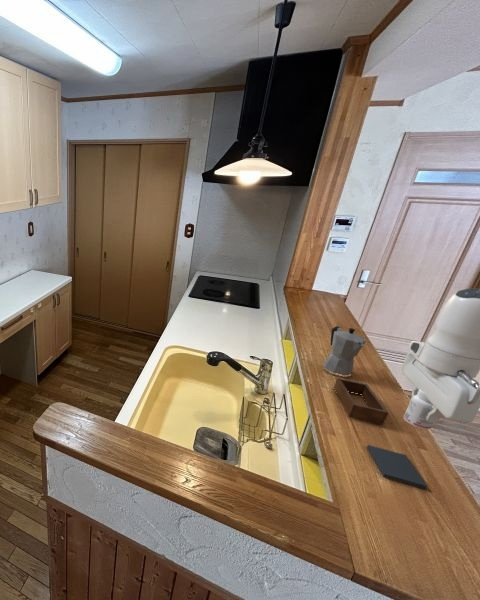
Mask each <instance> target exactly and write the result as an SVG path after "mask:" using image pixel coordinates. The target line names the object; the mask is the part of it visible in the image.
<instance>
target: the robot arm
mask: <svg viewBox="0 0 480 600" xmlns="http://www.w3.org/2000/svg"><path fill="white" fill-rule="evenodd" d="M408 348H409V351H408V352H407V354H406V356H405V357H404V361H403V362H402V366H401V374H402V375H403V376H405V377H406V379H408V381H409V382H410V383H411V384H412V386H411V397H410V401H409V403H410V402H411V400H412V398H413V396H415V395H417V393H418V391H419V389H420V390H421V391H422V392H423V393H424V396H425V397H426V398H427V399H428V400H429V401H430V402H431V403H432V404H433V406H432V408H433V410H432V411H430V412H428V411H426V413H425V415H424V417H425V419H426V420H427V421H428V422H431V423H434V424H438V423H439V421H440V419H441V418H443V417H444V418H446V419H447V420H449V421H453V422H456V423H462V424H470V423H473V422H474V420H475V418H476V417H477V414H478V412H479V410H480V383H479V382H478V380H476V379H475V378H476V377H477V376H478V374H479V372H480V287H477V288H476V287H475V288H474V287H473V288H470V287H469V288H464V289H459V290H458V291H456V292H454V293H453V294H452V295H451V296H450V297H449V298H448V300H447V301H446V302H445V304H444V305H443V307H442V308H441V310H440V312H439V314H438V316H437V318H436V320H435V322H434V330H433V332H432V334H431V335H430V336H429V337H428V338H427V339H426V341H425V342H423V341H417V340H412V341H410V343H409V345H408Z"/></svg>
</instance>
